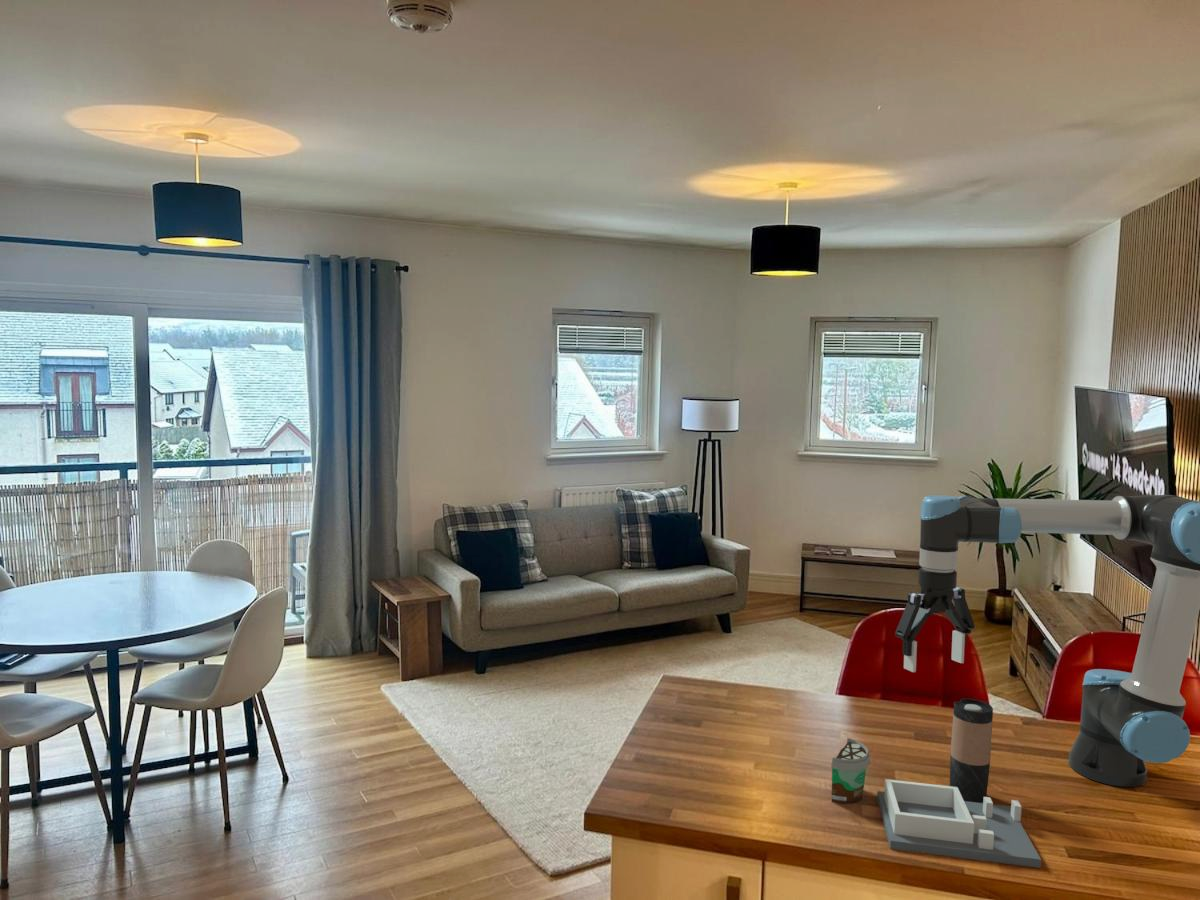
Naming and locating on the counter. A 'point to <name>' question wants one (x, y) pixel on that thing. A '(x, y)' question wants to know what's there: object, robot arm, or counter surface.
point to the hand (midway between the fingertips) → (933, 665)
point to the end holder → (928, 824)
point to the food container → (849, 773)
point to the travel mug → (971, 748)
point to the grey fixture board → (1007, 835)
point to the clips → (980, 822)
